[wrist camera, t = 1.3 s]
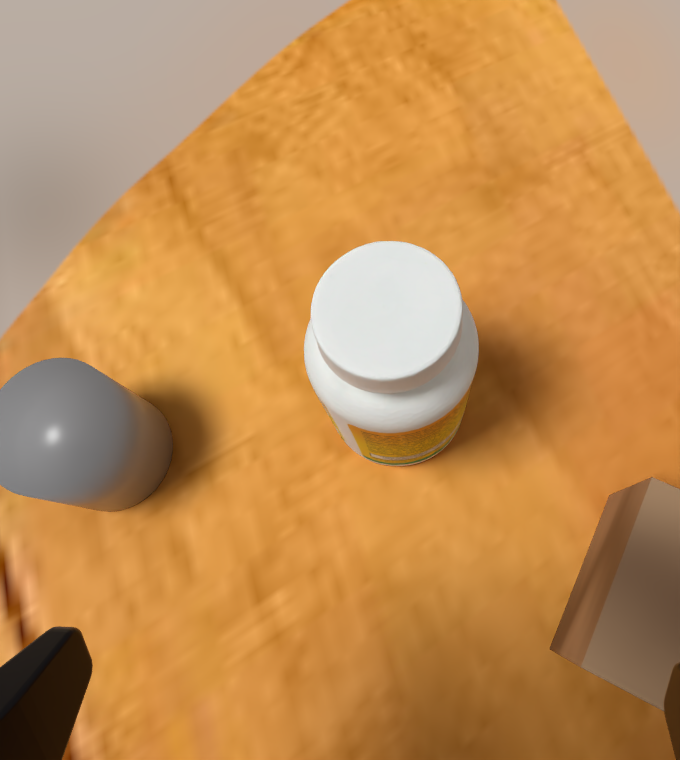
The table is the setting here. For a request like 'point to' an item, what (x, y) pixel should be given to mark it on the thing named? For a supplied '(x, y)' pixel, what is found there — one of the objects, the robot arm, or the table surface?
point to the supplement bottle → (391, 351)
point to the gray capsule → (80, 438)
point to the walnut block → (629, 594)
